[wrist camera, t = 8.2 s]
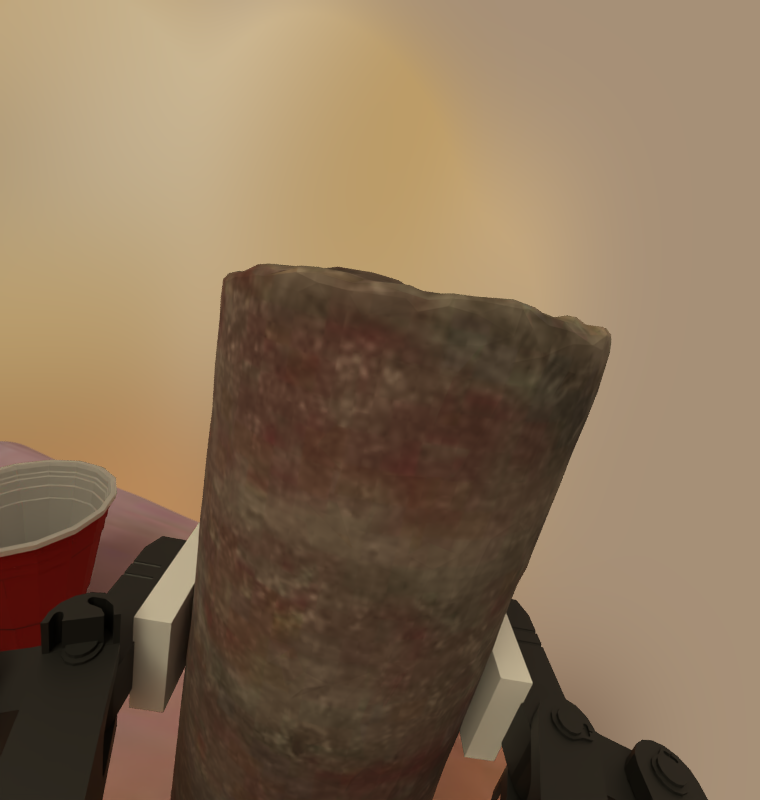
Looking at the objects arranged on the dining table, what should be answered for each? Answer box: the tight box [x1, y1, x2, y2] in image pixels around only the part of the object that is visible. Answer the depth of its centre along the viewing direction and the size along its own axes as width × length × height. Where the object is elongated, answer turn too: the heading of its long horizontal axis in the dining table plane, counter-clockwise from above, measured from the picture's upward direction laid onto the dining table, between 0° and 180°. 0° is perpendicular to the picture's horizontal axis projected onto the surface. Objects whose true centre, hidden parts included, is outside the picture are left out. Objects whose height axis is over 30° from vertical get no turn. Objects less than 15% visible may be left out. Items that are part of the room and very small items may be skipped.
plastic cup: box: [0, 460, 117, 651], centre depth 29 cm, size 11×11×12 cm
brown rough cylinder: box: [171, 264, 611, 800], centre depth 11 cm, size 8×7×20 cm
